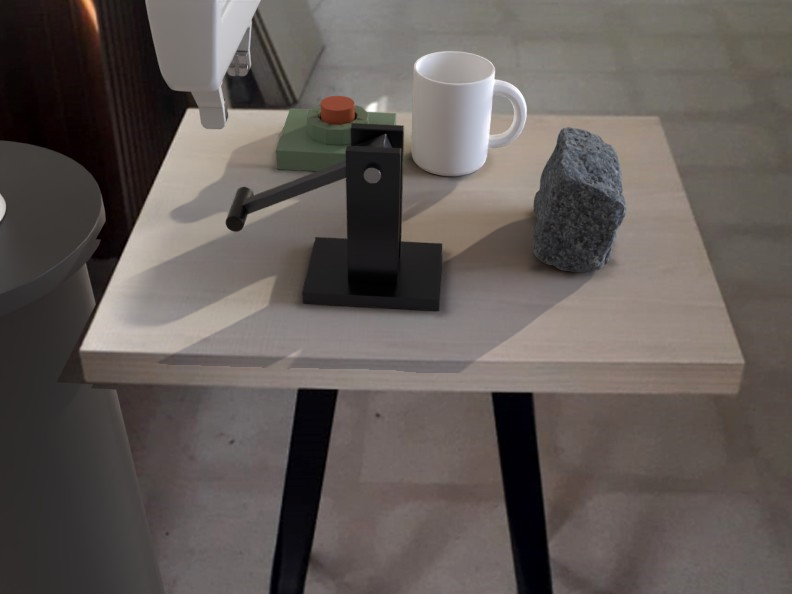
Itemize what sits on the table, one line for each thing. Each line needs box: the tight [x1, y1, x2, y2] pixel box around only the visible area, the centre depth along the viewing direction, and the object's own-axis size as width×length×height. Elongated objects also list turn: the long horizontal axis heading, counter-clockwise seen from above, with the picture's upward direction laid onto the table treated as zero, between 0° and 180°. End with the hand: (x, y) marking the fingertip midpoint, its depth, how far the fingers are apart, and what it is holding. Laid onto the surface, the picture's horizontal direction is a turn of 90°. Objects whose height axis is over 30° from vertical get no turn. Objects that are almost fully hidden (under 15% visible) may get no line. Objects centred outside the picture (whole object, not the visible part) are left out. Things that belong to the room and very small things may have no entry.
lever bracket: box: [301, 123, 444, 312], centre depth 82 cm, size 12×9×14 cm
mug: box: [410, 50, 528, 177], centre depth 100 cm, size 12×8×10 cm
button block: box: [275, 104, 397, 172], centre depth 104 cm, size 12×10×4 cm
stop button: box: [319, 95, 355, 125], centre depth 102 cm, size 4×4×2 cm
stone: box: [532, 126, 628, 273], centre depth 89 cm, size 12×8×10 cm, turn 0°
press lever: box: [225, 134, 392, 233], centre depth 81 cm, size 15×5×2 cm, turn 87°
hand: (228, 97), depth 75 cm, fingers open, 8 cm apart
